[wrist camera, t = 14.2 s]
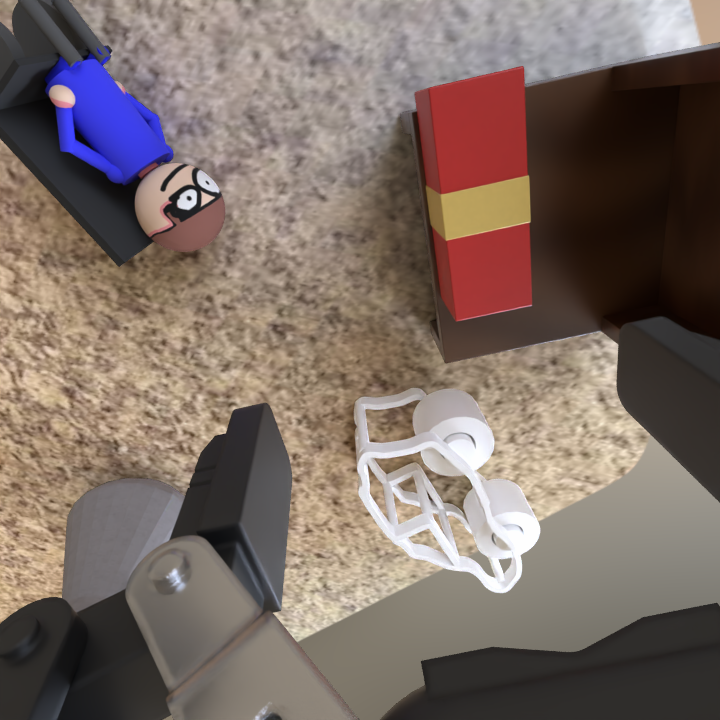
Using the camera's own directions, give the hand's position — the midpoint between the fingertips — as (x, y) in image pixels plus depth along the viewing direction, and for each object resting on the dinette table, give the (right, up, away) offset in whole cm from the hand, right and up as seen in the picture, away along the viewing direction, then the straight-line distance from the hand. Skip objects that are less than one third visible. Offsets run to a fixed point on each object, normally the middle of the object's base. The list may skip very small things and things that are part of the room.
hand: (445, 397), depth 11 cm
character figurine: (-16, +15, +19) cm, 30 cm away
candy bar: (+4, +11, +17) cm, 21 cm away
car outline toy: (+5, -8, +33) cm, 34 cm away
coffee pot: (-18, -11, +33) cm, 39 cm away
